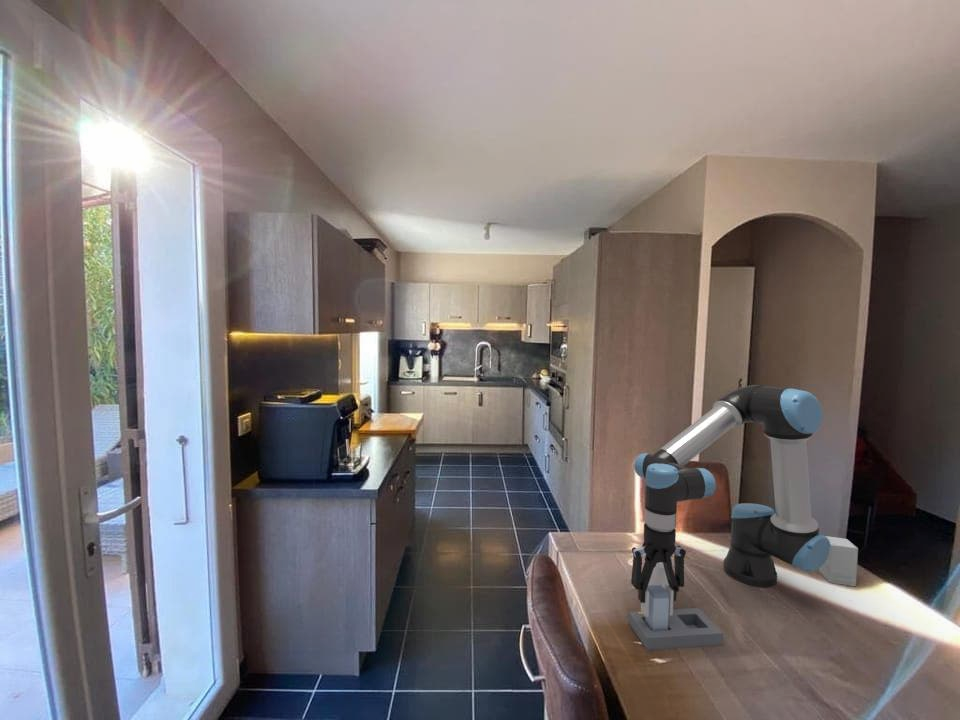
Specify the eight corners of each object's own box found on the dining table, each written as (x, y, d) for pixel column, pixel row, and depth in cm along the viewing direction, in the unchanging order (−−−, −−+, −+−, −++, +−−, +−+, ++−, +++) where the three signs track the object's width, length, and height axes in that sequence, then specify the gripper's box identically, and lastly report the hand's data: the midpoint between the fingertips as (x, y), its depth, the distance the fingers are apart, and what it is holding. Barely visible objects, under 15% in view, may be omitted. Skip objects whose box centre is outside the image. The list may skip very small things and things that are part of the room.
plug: (659, 628, 113) (660, 584, 112) (667, 639, 109) (669, 594, 108) (644, 629, 112) (646, 585, 111) (652, 640, 108) (654, 594, 108)
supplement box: (856, 587, 134) (859, 548, 134) (828, 583, 137) (830, 544, 136) (845, 575, 141) (847, 538, 141) (818, 571, 144) (820, 534, 143)
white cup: (674, 601, 126) (675, 569, 125) (646, 598, 127) (647, 565, 127) (668, 586, 134) (669, 555, 133) (641, 583, 135) (643, 552, 135)
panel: (697, 621, 117) (698, 607, 117) (722, 648, 107) (723, 632, 107) (628, 626, 115) (628, 611, 115) (646, 653, 105) (647, 637, 105)
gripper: (685, 518, 114) (682, 601, 115) (618, 520, 112) (615, 605, 113) (703, 531, 106) (699, 620, 107) (631, 533, 104) (628, 624, 105)
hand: (656, 612), depth 110 cm, fingers open, 6 cm apart
